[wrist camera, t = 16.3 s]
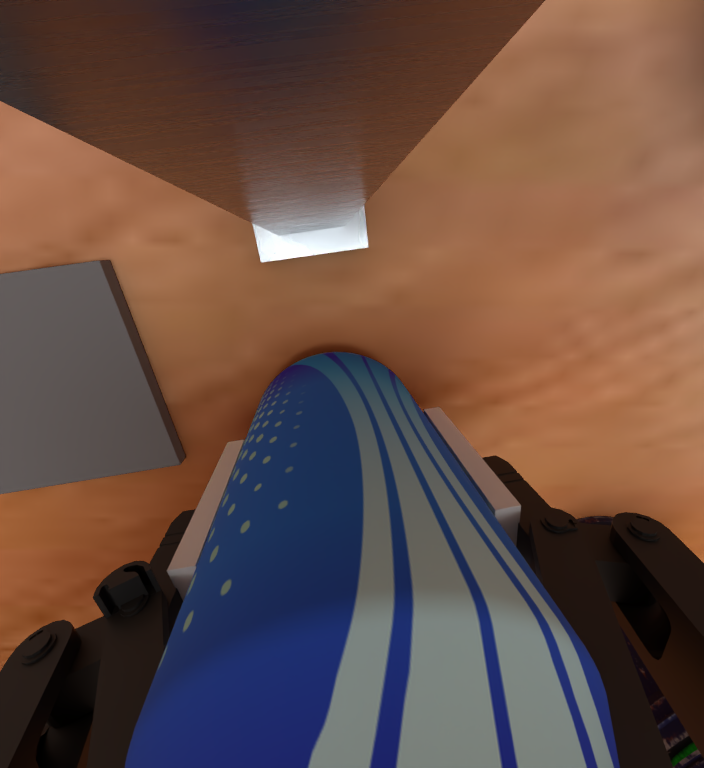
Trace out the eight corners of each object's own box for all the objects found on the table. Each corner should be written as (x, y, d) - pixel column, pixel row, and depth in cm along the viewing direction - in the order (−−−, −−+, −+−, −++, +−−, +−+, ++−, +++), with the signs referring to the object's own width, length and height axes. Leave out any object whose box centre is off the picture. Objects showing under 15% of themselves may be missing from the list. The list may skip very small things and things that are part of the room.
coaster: (-6, 487, 19) (-19, 497, 18) (-138, 294, 15) (-162, 296, 14) (185, 456, 19) (180, 464, 19) (109, 260, 15) (98, 260, 14)
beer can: (380, 488, 21) (543, 1071, 6) (246, 463, 19) (2, 1193, 4) (429, 367, 18) (957, 878, 3) (278, 325, 16) (-78, 990, 2)
